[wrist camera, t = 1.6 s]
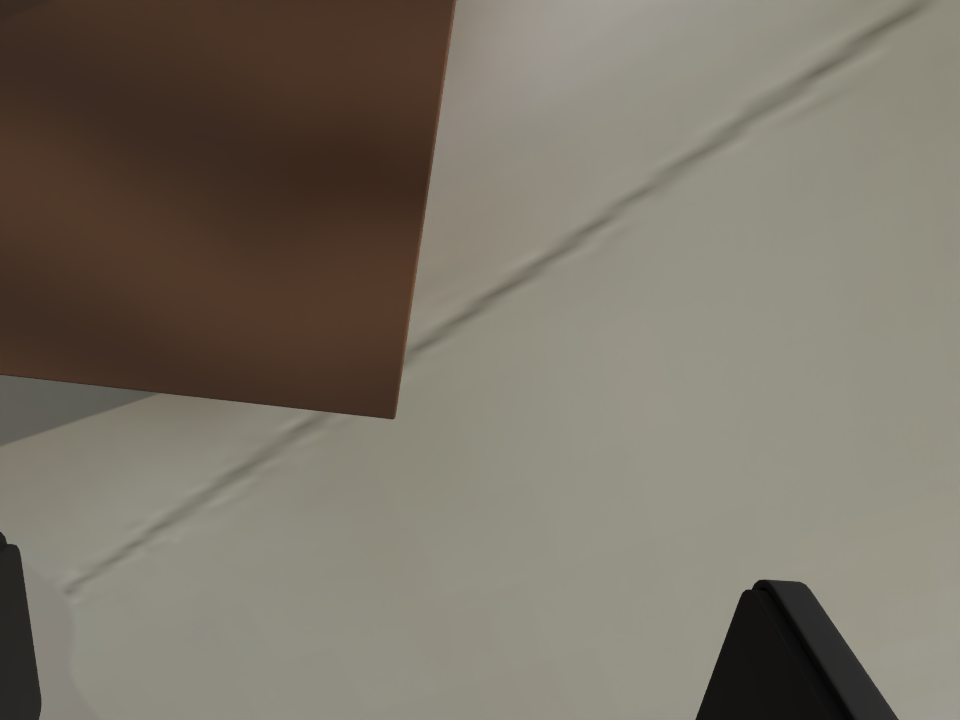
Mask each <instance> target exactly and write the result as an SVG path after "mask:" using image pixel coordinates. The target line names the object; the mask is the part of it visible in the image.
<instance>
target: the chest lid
mask: <svg viewBox="0 0 960 720" xmlns="http://www.w3.org/2000/svg"><path fill="white" fill-rule="evenodd" d="M455 4H456V0H0V375H8V376H17V377H26V378H35V379H43V380H52V381H61V382H70V383H79V384H87V385H96V386H105V387H114V388H123V389H131V390H140V391H149V392H158V393H167V394H175V395H184V396H193V397H202V398H210V399H219V400H228V401H237V402H246V403H254V404H263V405H272V406H281V407H290V408H298V409H307V410H316V411H325V412H334V413H342V414H351V415H360V416H369V417H377V418H386V419H394V418H395V417H396V410H397V403H398V396H399V389H400V382H401V375H402V368H403V362H404V355H405V348H406V341H407V334H408V327H409V320H410V313H411V307H412V300H413V293H414V286H415V279H416V272H417V265H418V258H419V252H420V245H421V238H422V231H423V224H424V217H425V210H426V204H427V197H428V190H429V183H430V176H431V169H432V162H433V155H434V149H435V142H436V135H437V128H438V121H439V114H440V107H441V100H442V94H443V87H444V80H445V73H446V66H447V59H448V52H449V45H450V39H451V32H452V25H453V18H454V11H455Z"/></svg>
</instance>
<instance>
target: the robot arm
mask: <svg viewBox="0 0 960 720" xmlns="http://www.w3.org/2000/svg"><path fill="white" fill-rule="evenodd" d="M40 712H41V694H40V687H39V680H38V673H37V666H36V659H35V653H34V646H33V638H32V631H31V624H30V617H29V610H28V604H27V597H26V590H25V583H24V577H23V569H22V562H21V555H20V551H19V548H18V547H17V546H16V545H13V544H7V542H6V538H5V536H4V535H3V534H2V533H1V532H0V720H39V716H40ZM696 720H898V718H897V717H896V715H895V714H894V712H893V711H892V709H891V708H890V706H889V705H888V703H887V702H886V700H885V699H884V698H883V696H882V695H881V693H880V692H879V690H878V689H877V687H876V686H875V684H874V683H873V681H872V680H871V678H870V677H869V676H868V674H867V673H866V671H865V670H864V668H863V667H862V665H861V664H860V662H859V661H858V659H857V658H856V656H855V655H854V653H853V652H852V651H851V649H850V648H849V646H848V645H847V643H846V642H845V640H844V639H843V637H842V636H841V634H840V633H839V631H838V630H837V628H836V627H835V626H834V624H833V623H832V621H831V620H830V618H829V617H828V615H827V614H826V612H825V611H824V609H823V608H822V606H821V605H820V603H819V602H818V601H817V599H816V598H815V596H814V595H813V593H812V592H811V590H810V589H809V588H808V587H807V586H806V585H805V584H803V583H801V582H794V581H778V580H759V581H757V582H756V583H755V584H754V586H753V588H752V590H745V591H744V592H743V593H742V595H741V597H740V600H739V602H738V605H737V608H736V610H735V613H734V616H733V619H732V621H731V624H730V627H729V630H728V632H727V635H726V638H725V641H724V643H723V646H722V649H721V652H720V654H719V657H718V660H717V662H716V665H715V668H714V671H713V673H712V676H711V679H710V682H709V684H708V687H707V690H706V693H705V695H704V698H703V701H702V703H701V706H700V709H699V712H698V714H697V717H696Z"/></svg>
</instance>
